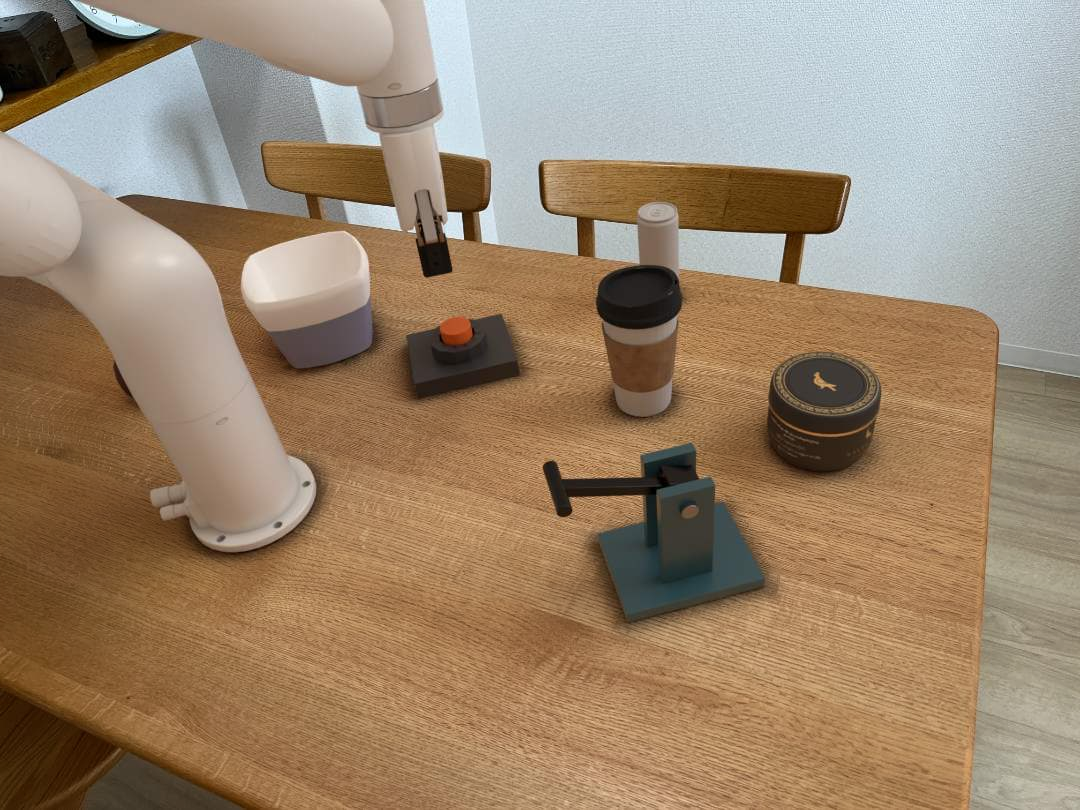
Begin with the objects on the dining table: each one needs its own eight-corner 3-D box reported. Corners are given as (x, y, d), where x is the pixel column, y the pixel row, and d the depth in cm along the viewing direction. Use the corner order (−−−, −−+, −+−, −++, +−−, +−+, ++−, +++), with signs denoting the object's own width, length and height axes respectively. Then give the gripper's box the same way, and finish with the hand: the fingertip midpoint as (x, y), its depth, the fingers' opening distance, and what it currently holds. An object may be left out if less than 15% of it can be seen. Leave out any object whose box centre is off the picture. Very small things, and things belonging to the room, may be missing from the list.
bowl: (377, 294, 111) (356, 221, 103) (398, 355, 99) (375, 278, 92) (265, 325, 108) (235, 252, 101) (273, 392, 97) (240, 315, 89)
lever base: (627, 623, 67) (619, 530, 59) (598, 541, 74) (587, 449, 66) (764, 587, 68) (774, 491, 60) (723, 510, 75) (727, 415, 67)
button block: (418, 398, 92) (410, 371, 90) (410, 349, 100) (402, 322, 97) (520, 375, 93) (515, 347, 91) (504, 327, 101) (499, 301, 98)
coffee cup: (680, 427, 84) (678, 307, 74) (599, 423, 86) (587, 305, 76) (685, 375, 90) (685, 258, 80) (610, 373, 92) (600, 258, 82)
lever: (554, 523, 60) (560, 500, 59) (539, 477, 64) (545, 454, 62) (699, 518, 63) (709, 496, 62) (678, 474, 67) (686, 453, 66)
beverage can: (684, 289, 103) (683, 203, 95) (672, 310, 99) (670, 223, 92) (647, 284, 104) (644, 199, 97) (635, 304, 101) (630, 218, 94)
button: (444, 349, 93) (441, 337, 92) (440, 332, 96) (437, 320, 94) (475, 342, 93) (472, 330, 92) (470, 325, 96) (467, 313, 95)
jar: (839, 493, 74) (850, 433, 70) (745, 449, 80) (749, 390, 75) (889, 432, 80) (902, 372, 75) (796, 395, 85) (803, 336, 80)
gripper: (358, 85, 82) (398, 247, 93) (366, 139, 70) (410, 314, 82) (432, 72, 82) (462, 234, 94) (451, 123, 71) (482, 299, 83)
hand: (437, 271), depth 88 cm, fingers closed
